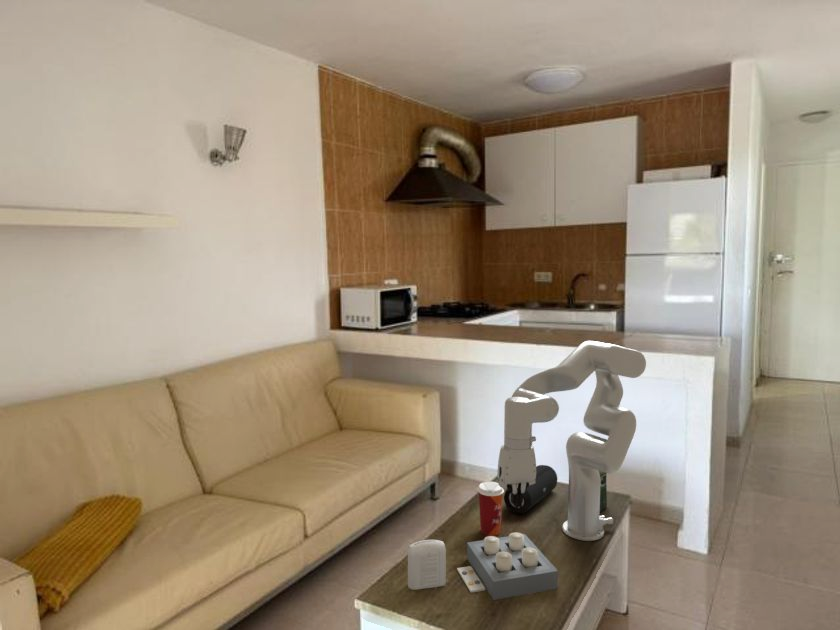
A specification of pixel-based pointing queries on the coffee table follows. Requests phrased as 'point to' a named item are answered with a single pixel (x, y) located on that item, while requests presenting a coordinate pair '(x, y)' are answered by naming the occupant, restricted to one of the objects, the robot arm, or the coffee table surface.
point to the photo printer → (426, 564)
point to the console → (511, 581)
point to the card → (471, 579)
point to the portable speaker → (534, 489)
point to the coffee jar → (603, 490)
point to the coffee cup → (490, 507)
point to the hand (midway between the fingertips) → (516, 505)
